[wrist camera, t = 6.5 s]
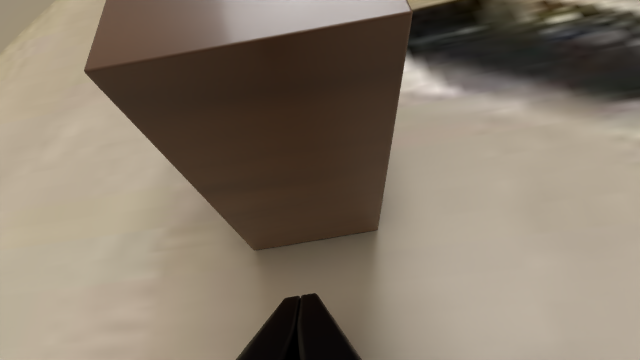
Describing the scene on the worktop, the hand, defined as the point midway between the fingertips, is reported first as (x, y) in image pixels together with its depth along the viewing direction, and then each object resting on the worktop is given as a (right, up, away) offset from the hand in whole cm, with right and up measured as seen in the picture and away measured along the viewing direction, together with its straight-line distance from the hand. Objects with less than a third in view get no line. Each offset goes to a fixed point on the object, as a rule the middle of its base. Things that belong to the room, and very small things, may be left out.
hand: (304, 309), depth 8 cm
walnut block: (0, +3, +12) cm, 12 cm away
